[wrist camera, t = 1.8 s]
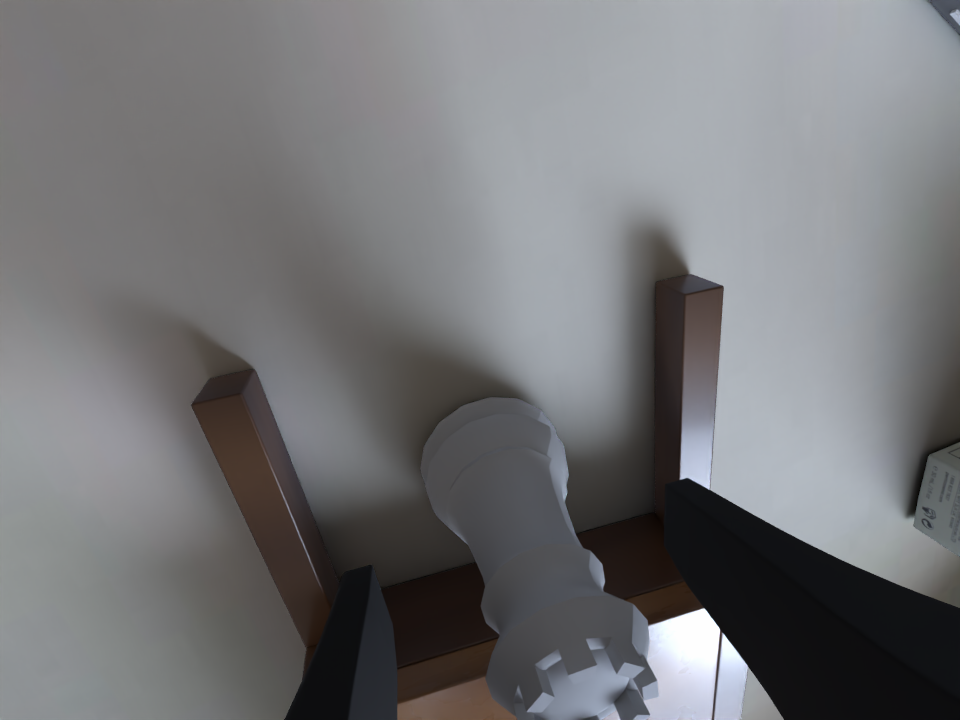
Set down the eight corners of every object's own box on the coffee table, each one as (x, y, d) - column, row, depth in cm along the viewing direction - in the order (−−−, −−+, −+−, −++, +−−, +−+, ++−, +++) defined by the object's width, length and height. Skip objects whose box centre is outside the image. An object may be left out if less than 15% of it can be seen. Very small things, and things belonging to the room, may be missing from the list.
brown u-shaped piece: (209, 377, 13) (143, 467, 9) (691, 273, 14) (798, 312, 11) (374, 752, 20) (374, 881, 17) (677, 653, 22) (737, 752, 18)
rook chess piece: (486, 361, 14) (607, 578, 7) (580, 438, 16) (753, 673, 9) (389, 465, 15) (405, 760, 8) (489, 527, 17) (579, 813, 9)
